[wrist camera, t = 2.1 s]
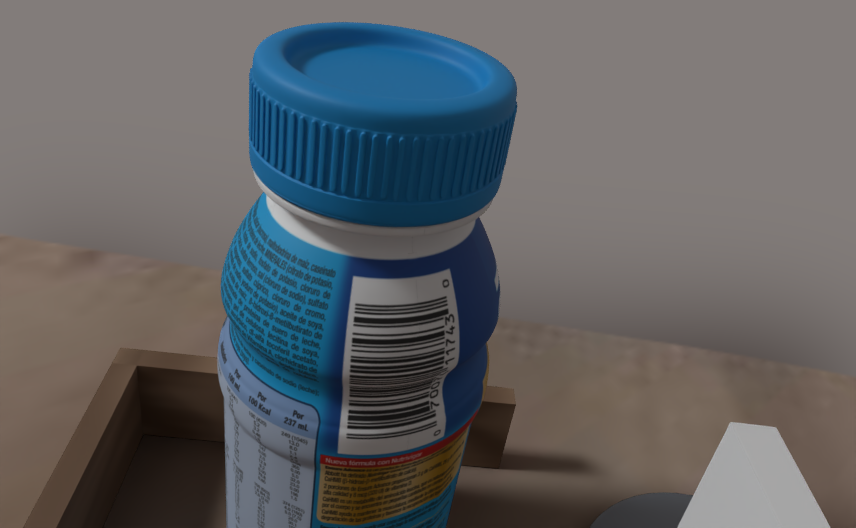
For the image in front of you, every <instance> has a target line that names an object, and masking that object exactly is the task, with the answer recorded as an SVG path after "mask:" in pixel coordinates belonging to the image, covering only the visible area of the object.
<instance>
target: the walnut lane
mask: <svg viewBox="0 0 856 528" xmlns="http://www.w3.org/2000/svg"><path fill="white" fill-rule="evenodd" d="M217 363H218V358H215V357H205V356H196V355H186V354H177V353H167V352H158V351H148V350H138V349H129V348H120V349H119V351H118V353H117V355H116V357H115V359H114V360H113V362H112V364H111V366H110V368H109V370H108V372H107V373H106V375H105V377H104V379H103V381H102V383H101V385H100V386H99V388H98V390H97V392H96V394H95V396H94V397H93V399H92V401H91V403H90V405H89V407H88V409H87V410H86V412H85V414H84V416H83V418H82V420H81V421H80V423H79V425H78V427H77V429H76V431H75V433H74V434H73V436H72V438H71V440H70V442H69V444H68V445H67V447H66V449H65V451H64V453H63V455H62V457H61V458H60V460H59V462H58V464H57V466H56V468H55V469H54V471H53V473H52V475H51V477H50V479H49V481H48V482H47V484H46V486H45V488H44V490H43V492H42V493H41V495H40V497H39V499H38V501H37V503H36V505H35V506H34V508H33V510H32V512H31V514H30V516H29V517H28V519H27V521H26V523H25V525H24V527H23V528H103V525H104V523H105V521H106V518H107V516H108V514H109V512H110V509H111V507H112V505H113V502H114V500H115V498H116V496H117V493H118V491H119V489H120V486H121V484H122V482H123V479H124V477H125V475H126V473H127V470H128V468H129V466H130V463H131V461H132V459H133V456H134V454H135V452H136V450H137V447H138V445H139V443H140V440H141V438H142V436H143V434H146V435H156V436H167V437H177V438H187V439H198V440H208V441H218V442H225V427H224V396H223V393H222V391H221V387H220V383H219V378H218V366H217ZM515 406H516V402H515V395H514V389H512V388H502V387H492V386H486V390H485V394H484V398H483V401H482V404H481V406H480V408H479V411H478V412H477V414H476V416H475V418H474V419H473V421H472V423H471V426H470V430H469V434H468V439H467V443H466V447H465V451H464V455H463V459H462V463H461V465H467V466H478V467H488V468H498V469H499V465H500V461H501V457H502V454H503V450H504V446H505V443H506V439H507V435H508V432H509V428H510V424H511V421H512V417H513V413H514V409H515Z"/></svg>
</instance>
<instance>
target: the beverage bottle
mask: <svg viewBox="0 0 856 528" xmlns="http://www.w3.org/2000/svg"><path fill="white" fill-rule="evenodd" d="M516 96H517V86H516V82H515V79H514V77H513V75H512V74H511V72H510V71H509V70H508V69H507V68H506V67H505V66H504V65H503V64H502V63H500V62H499V61H498V60H496V59H495V58H493V57H492V56H490V55H488V54H487V53H485V52H483V51H481V50H479V49H477V48H474V47H472V46H470V45H467V44H465V43H462V42H459V41H456V40H453V39H450V38H447V37H444V36H440V35H436V34H432V33H428V32H424V31H420V30H415V29H409V28H403V27H397V26H390V25H381V24H371V23H353V22H352V23H350V22H337V23H336V22H334V23H318V24H310V25H302V26H297V27H293V28H289V29H285V30H282V31H280V32H277V33H275V34H273V35H271V36H269V37H267V38H266V39H265V40H263V41H262V42H261V43H260V44H259V46H258V47H257V49H256V51H255V53H254V58H253V66H252V68H251V69H250V73H249V154H250V161H251V165H252V168H253V171H254V176H255V179H256V181H257V183H258V185H259V186H260V188H261V189H262V190H263V193H262V195H261V196H260V197H259V198H258V200H257V201H256V202H255V204H254V205H253V206H252V208H251V209H250V211H249V212H248V214H247V215H246V217H245V218H244V220H243V221H242V223H241V225H240V227H239V228H238V230H237V232H236V234H235V236H234V238H233V241H232V243H231V245H230V248H229V251H228V254H227V257H226V260H225V263H224V267H223V271H222V277H221V296H222V301H223V305H224V308H225V311H226V313H227V317H226V319H225V321H224V324H223V327H222V330H221V334H220V339H219V346H218V363H217V366H218V378H219V383H220V387H221V391H222V393H223V396H224V427H225V470H226V522H227V528H446V525H447V521H448V516H449V512H450V508H451V504H452V500H453V496H454V492H455V488H456V483H457V479H458V475H459V471H460V467H461V463H462V459H463V455H464V451H465V447H466V443H467V439H468V434H469V430H470V426H471V423H472V421H473V419H474V418H475V416H476V414H477V412H478V411H479V408H480V406H481V404H482V401H483V398H484V394H485V390H486V386H487V380H488V372H489V352H488V346H487V341H488V339H489V338H490V336H491V335H492V333H493V331H494V329H495V326H496V324H497V321H498V317H499V311H500V284H499V276H498V270H497V265H496V260H495V257H494V253H493V250H492V247H491V244H490V242H489V239H488V236H487V234H486V231H485V229H484V227H483V224H482V222H481V220H480V218H479V217H480V216H481V215H482V214H483V213H484V212H485V211H486V210H487V209H488V208H489V206H490V204H491V202H492V200H493V198H494V197H495V195H496V193H497V191H498V189H499V186H500V183H501V179H502V174H503V170H504V165H505V163H506V158H507V154H508V148H509V144H510V140H511V134H512V130H513V125H514V121H515V115H516V112H517V105H516V104H517V102H516Z"/></svg>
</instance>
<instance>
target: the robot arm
mask: <svg viewBox="0 0 856 528" xmlns="http://www.w3.org/2000/svg"><path fill="white" fill-rule="evenodd" d="M677 528H830V526H829V524H828V522H827V520H826V518H825V517H824V515H823V513H822V511H821V509H820V507H819V506H818V504H817V502H816V500H815V498H814V496H813V495H812V493H811V491H810V489H809V487H808V485H807V483H806V482H805V480H804V478H803V476H802V474H801V472H800V471H799V469H798V467H797V465H796V463H795V461H794V460H793V458H792V456H791V454H790V452H789V450H788V449H787V447H786V445H785V443H784V441H783V439H782V438H781V436H780V434H779V432H778V430H777V428H776V427H769V426H760V425H752V424H743V423H735V422H730V424H729V426H728V428H727V430H726V432H725V434H724V436H723V438H722V440H721V442H720V444H719V446H718V448H717V450H716V452H715V454H714V456H713V458H712V460H711V462H710V464H709V466H708V468H707V470H706V472H705V474H704V476H703V478H702V480H701V482H700V484H699V485H698V487H697V489H696V491H695V493H694V495H693V497H692V499H691V501H690V503H689V505H688V507H687V509H686V511H685V513H684V515H683V517H682V519H681V521H680V523H679V525H678V527H677Z"/></svg>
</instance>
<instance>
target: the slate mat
mask: <svg viewBox="0 0 856 528" xmlns="http://www.w3.org/2000/svg"><path fill="white" fill-rule="evenodd" d="M692 497H693V495H686V494H679V493H649V494H643V495H638V496H634V497H631V498H628V499H625V500H622V501H620V502H618V503H616V504H615V505H613V506H611V507H609V508H608V509H607V510H606V511H604V512H603V513H602V514H600V515H599V517H598V518H597V519H596V520H595V521H594V522H593V523H592V524H591V526H590V528H677V527H678V525H679V523H680V521H681V519H682V517H683V515H684V513H685V511H686V509H687V507H688V505H689V503H690V501H691V499H692Z"/></svg>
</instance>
